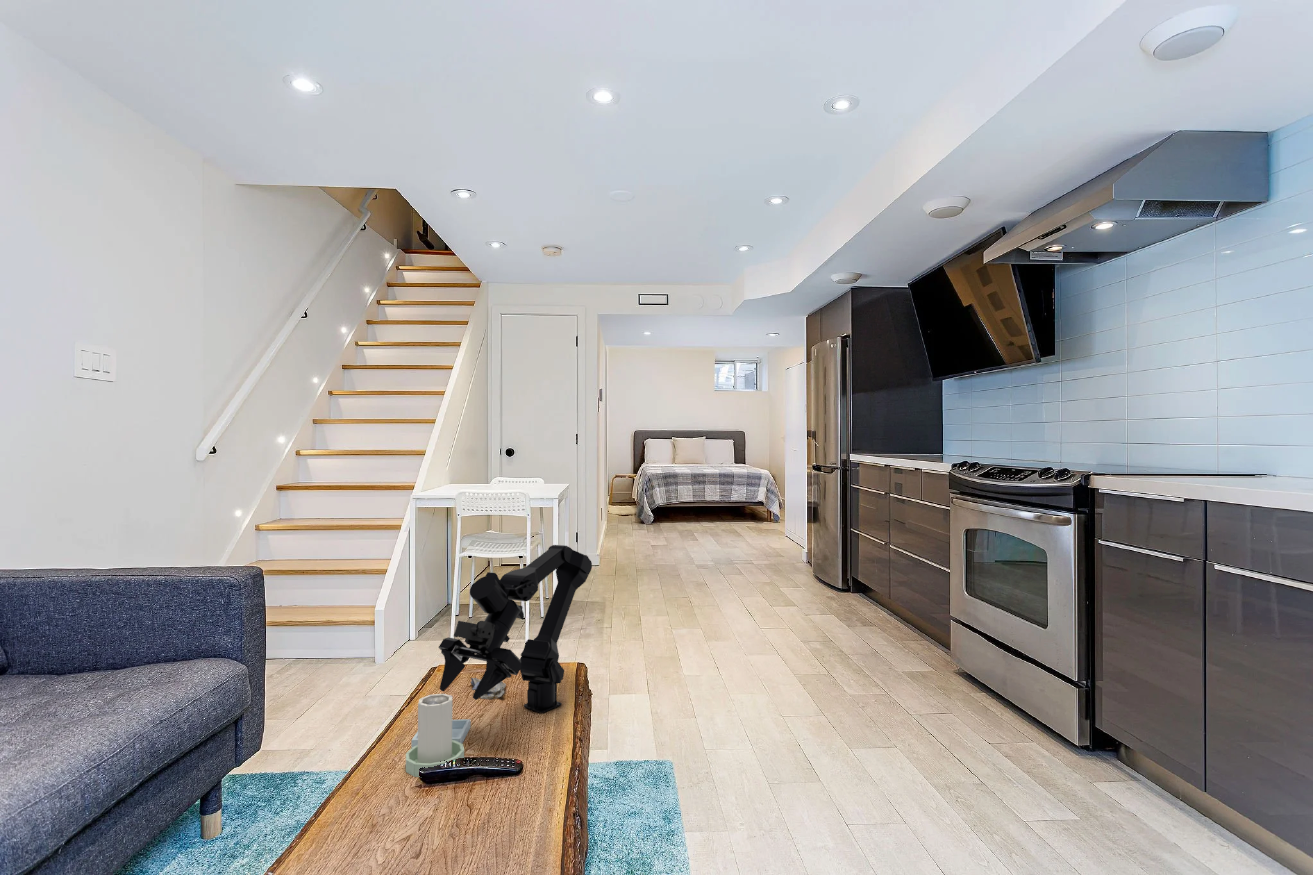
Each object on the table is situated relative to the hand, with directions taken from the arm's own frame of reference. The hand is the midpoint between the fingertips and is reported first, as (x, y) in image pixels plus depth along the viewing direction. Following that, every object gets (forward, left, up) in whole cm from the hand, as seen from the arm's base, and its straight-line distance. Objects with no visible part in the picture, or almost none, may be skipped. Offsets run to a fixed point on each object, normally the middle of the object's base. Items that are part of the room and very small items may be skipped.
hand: (457, 694), depth 128 cm
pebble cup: (+6, +1, -11) cm, 13 cm away
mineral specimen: (-26, -23, -13) cm, 37 cm away
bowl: (+6, +1, -12) cm, 13 cm away
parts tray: (-2, -8, -12) cm, 15 cm away
